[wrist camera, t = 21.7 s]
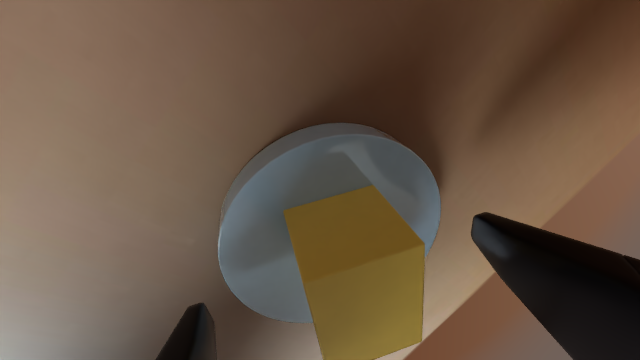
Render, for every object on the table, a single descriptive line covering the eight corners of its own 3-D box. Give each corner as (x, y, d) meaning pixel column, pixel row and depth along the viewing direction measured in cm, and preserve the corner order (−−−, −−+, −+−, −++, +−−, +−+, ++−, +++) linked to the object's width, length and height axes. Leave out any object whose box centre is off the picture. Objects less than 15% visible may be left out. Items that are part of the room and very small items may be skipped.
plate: (421, 266, 14) (436, 285, 13) (254, 322, 13) (256, 348, 12) (425, 97, 10) (448, 106, 9) (181, 157, 9) (174, 175, 8)
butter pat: (379, 270, 11) (422, 342, 9) (305, 295, 11) (328, 377, 8) (373, 184, 9) (426, 243, 7) (282, 209, 9) (303, 283, 6)
